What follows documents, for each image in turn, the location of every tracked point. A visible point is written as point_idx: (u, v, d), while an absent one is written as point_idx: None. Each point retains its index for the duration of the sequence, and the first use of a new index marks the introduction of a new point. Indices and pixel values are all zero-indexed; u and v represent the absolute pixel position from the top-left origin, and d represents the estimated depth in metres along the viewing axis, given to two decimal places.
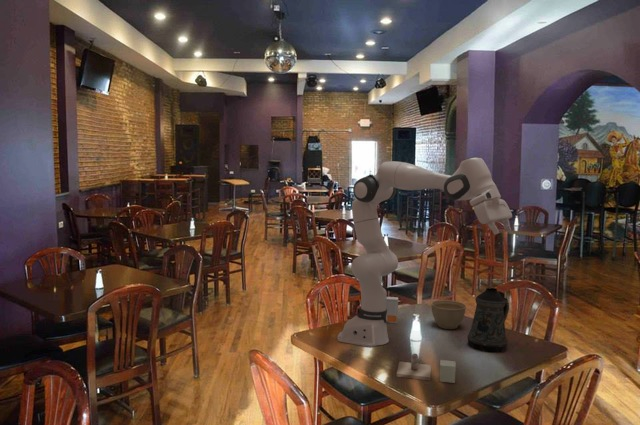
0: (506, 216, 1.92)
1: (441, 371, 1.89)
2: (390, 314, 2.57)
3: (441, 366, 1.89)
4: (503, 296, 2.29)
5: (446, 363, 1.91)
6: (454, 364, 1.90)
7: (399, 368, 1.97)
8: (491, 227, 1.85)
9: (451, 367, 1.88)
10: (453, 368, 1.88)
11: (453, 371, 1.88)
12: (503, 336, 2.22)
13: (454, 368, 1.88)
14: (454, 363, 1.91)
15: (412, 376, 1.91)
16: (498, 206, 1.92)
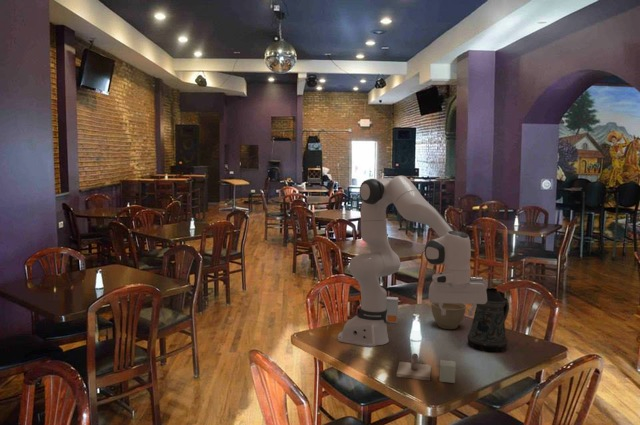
0: (470, 302, 1.86)
1: (441, 371, 1.89)
2: (390, 314, 2.57)
3: (441, 366, 1.89)
4: (503, 296, 2.29)
5: (446, 363, 1.91)
6: (454, 364, 1.90)
7: (399, 368, 1.97)
8: None
9: (451, 367, 1.88)
10: (453, 368, 1.88)
11: (453, 371, 1.88)
12: (503, 336, 2.22)
13: (454, 368, 1.88)
14: (454, 363, 1.91)
15: (412, 376, 1.91)
16: (464, 290, 1.86)
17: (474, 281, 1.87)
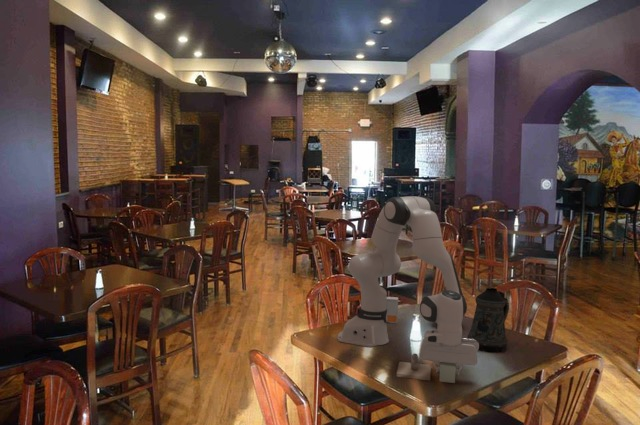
0: (460, 362, 1.88)
1: (441, 371, 1.89)
2: (390, 314, 2.57)
3: (441, 366, 1.89)
4: (503, 296, 2.29)
5: (446, 363, 1.91)
6: (454, 364, 1.90)
7: (399, 368, 1.97)
8: None
9: (451, 367, 1.88)
10: (453, 368, 1.88)
11: (453, 371, 1.88)
12: (503, 336, 2.22)
13: (454, 368, 1.88)
14: (454, 363, 1.91)
15: (412, 376, 1.91)
16: (454, 350, 1.88)
17: (465, 342, 1.88)
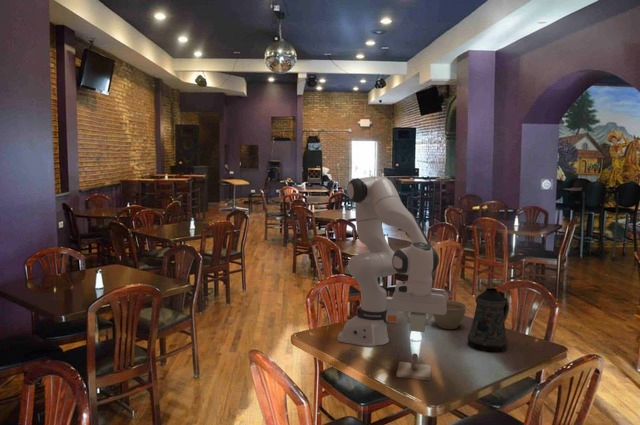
0: (430, 312, 1.92)
1: (411, 321, 1.93)
2: (390, 314, 2.57)
3: (411, 316, 1.93)
4: (503, 296, 2.29)
5: (417, 313, 1.95)
6: (424, 314, 1.94)
7: (399, 368, 1.97)
8: (405, 315, 1.96)
9: (421, 316, 1.92)
10: (423, 318, 1.92)
11: (423, 320, 1.92)
12: (503, 336, 2.22)
13: (424, 317, 1.92)
14: (424, 313, 1.95)
15: (412, 376, 1.91)
16: (424, 300, 1.92)
17: (435, 292, 1.92)
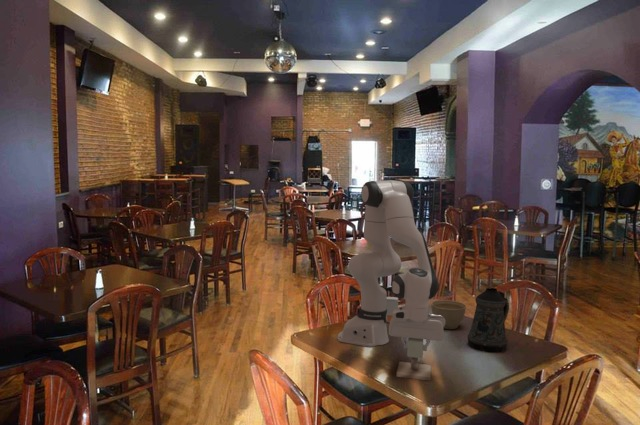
0: (427, 338, 1.93)
1: (409, 347, 1.94)
2: (390, 314, 2.57)
3: (409, 342, 1.94)
4: (503, 296, 2.29)
5: (414, 339, 1.95)
6: (422, 340, 1.95)
7: (399, 368, 1.97)
8: None
9: (418, 342, 1.93)
10: (420, 344, 1.93)
11: (420, 346, 1.93)
12: (503, 336, 2.22)
13: (421, 343, 1.93)
14: (421, 339, 1.96)
15: (412, 376, 1.91)
16: (421, 326, 1.93)
17: (432, 318, 1.93)
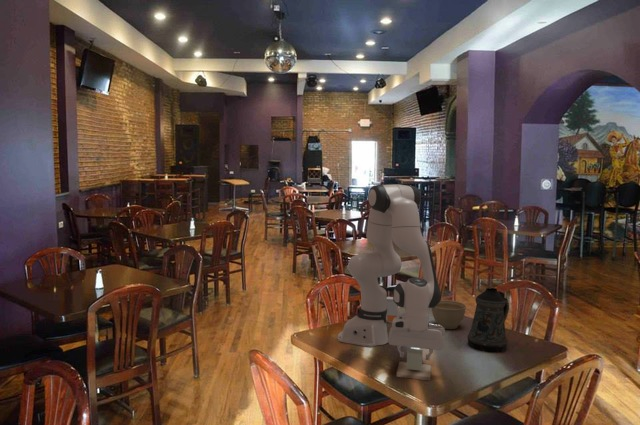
0: (426, 347, 1.93)
1: (408, 359, 1.94)
2: (390, 314, 2.57)
3: (408, 354, 1.94)
4: (503, 296, 2.29)
5: (413, 351, 1.96)
6: (421, 352, 1.95)
7: (399, 368, 1.97)
8: None
9: (418, 355, 1.93)
10: (420, 356, 1.93)
11: (419, 359, 1.93)
12: (503, 336, 2.22)
13: (420, 356, 1.93)
14: (421, 351, 1.96)
15: (412, 376, 1.91)
16: (421, 335, 1.94)
17: (432, 327, 1.94)
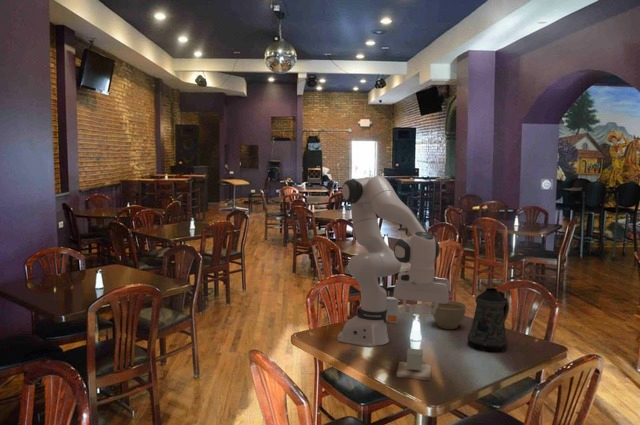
0: (432, 301, 1.93)
1: (408, 359, 1.94)
2: (390, 314, 2.57)
3: (408, 354, 1.94)
4: (503, 296, 2.29)
5: (413, 351, 1.96)
6: (421, 352, 1.95)
7: (399, 368, 1.97)
8: (404, 303, 1.98)
9: (418, 355, 1.93)
10: (420, 356, 1.93)
11: (419, 359, 1.93)
12: (503, 336, 2.22)
13: (420, 356, 1.93)
14: (421, 351, 1.96)
15: (412, 376, 1.91)
16: (426, 289, 1.94)
17: (437, 281, 1.94)
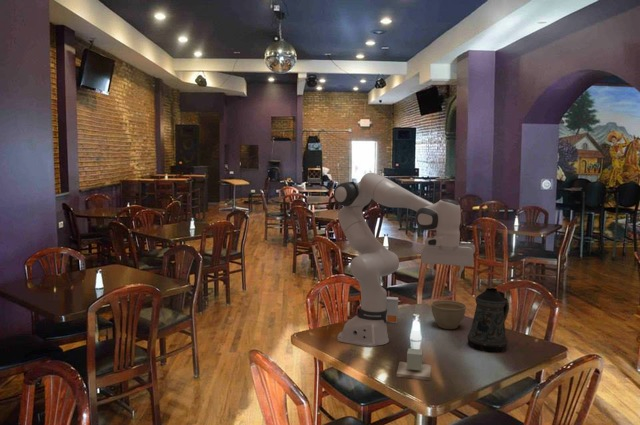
0: (458, 264, 2.04)
1: (408, 359, 1.94)
2: (390, 314, 2.57)
3: (408, 354, 1.94)
4: (503, 296, 2.29)
5: (413, 351, 1.96)
6: (421, 352, 1.95)
7: (399, 368, 1.97)
8: (430, 267, 2.08)
9: (418, 355, 1.93)
10: (420, 356, 1.93)
11: (419, 359, 1.93)
12: (503, 336, 2.22)
13: (420, 356, 1.93)
14: (421, 351, 1.96)
15: (412, 376, 1.91)
16: (452, 252, 2.04)
17: (463, 245, 2.04)
